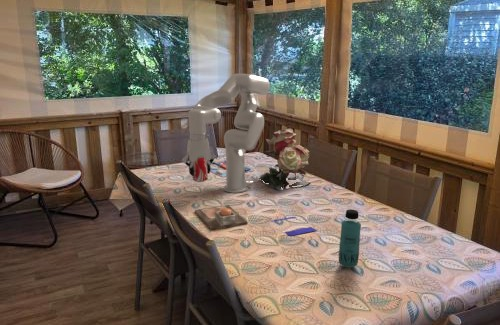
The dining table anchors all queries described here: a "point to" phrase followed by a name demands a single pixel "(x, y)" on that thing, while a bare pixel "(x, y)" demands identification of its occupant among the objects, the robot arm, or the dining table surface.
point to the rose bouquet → (286, 159)
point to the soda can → (200, 170)
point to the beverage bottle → (349, 240)
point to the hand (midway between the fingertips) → (200, 173)
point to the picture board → (220, 217)
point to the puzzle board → (223, 168)
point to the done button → (225, 212)
